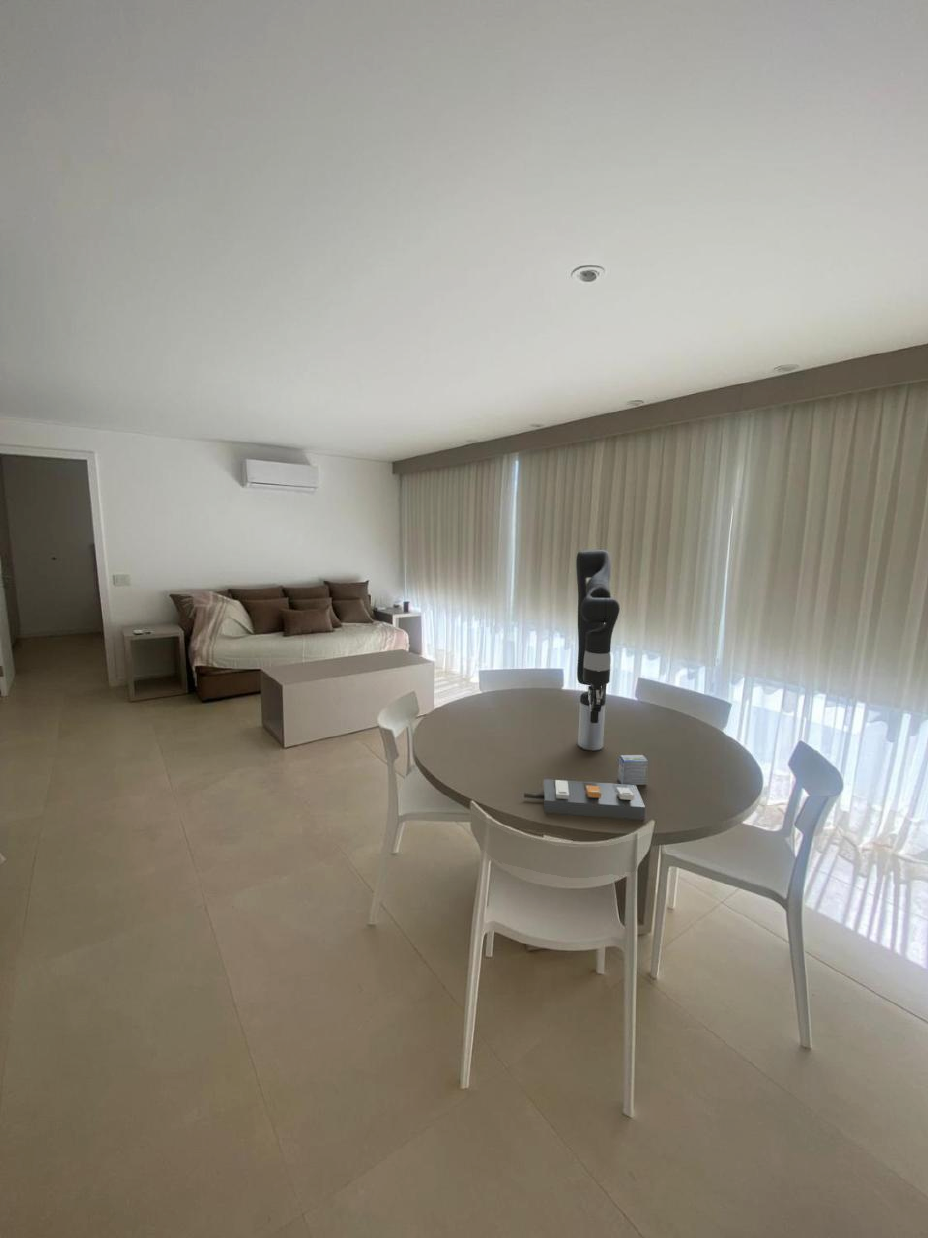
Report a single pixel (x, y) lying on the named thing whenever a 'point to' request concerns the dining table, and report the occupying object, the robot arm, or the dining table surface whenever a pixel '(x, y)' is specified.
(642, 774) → the medicine box
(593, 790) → the rocker
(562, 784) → the plate
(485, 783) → the dining table surface
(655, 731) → the dining table surface
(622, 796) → the rocker
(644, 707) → the dining table surface
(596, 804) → the power strip
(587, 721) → the robot arm
